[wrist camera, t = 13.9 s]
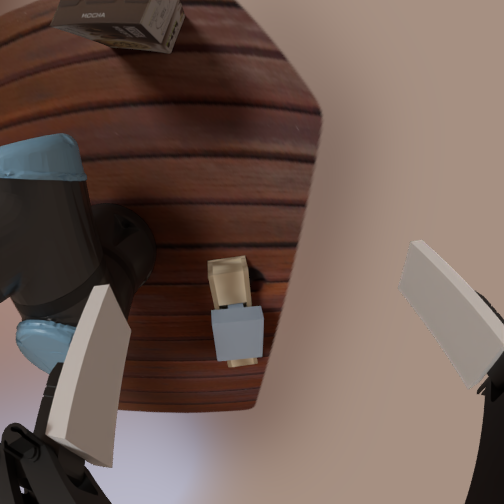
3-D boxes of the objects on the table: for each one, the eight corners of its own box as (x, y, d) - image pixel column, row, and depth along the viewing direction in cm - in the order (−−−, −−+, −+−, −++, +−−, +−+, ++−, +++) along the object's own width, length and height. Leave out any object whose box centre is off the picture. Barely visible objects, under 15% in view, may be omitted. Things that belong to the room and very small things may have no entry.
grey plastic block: (215, 332, 52) (217, 361, 46) (210, 294, 47) (211, 323, 41) (256, 328, 53) (262, 356, 47) (256, 290, 48) (263, 318, 42)
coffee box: (186, 13, 24) (172, -38, 11) (170, 55, 27) (142, 26, 14) (122, 7, 22) (74, -34, 8) (107, 48, 25) (46, 27, 11)
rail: (226, 352, 57) (228, 367, 54) (207, 260, 44) (207, 275, 41) (254, 348, 57) (257, 363, 54) (244, 255, 44) (248, 270, 41)
